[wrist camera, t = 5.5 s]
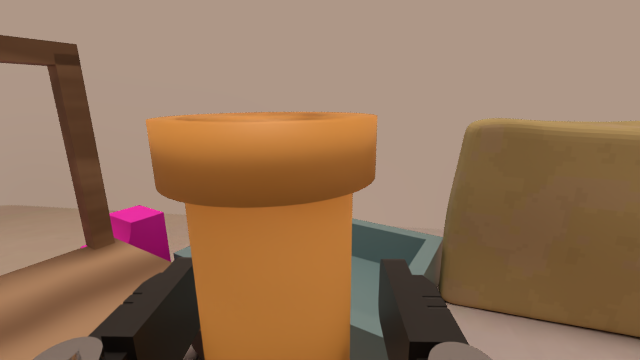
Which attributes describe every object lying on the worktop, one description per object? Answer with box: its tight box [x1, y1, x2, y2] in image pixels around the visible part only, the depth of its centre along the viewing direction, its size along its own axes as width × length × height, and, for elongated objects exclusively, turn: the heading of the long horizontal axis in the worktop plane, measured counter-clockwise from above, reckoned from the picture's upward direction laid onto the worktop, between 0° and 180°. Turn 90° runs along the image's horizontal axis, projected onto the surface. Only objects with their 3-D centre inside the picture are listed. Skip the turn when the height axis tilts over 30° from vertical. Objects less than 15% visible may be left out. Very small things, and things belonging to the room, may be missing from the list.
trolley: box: [0, 35, 205, 360], centre depth 15 cm, size 13×12×20 cm
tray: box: [174, 219, 443, 360], centre depth 27 cm, size 18×14×4 cm
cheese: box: [439, 118, 640, 337], centre depth 22 cm, size 22×10×15 cm, turn 79°
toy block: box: [81, 205, 171, 262], centre depth 23 cm, size 15×6×8 cm, turn 148°
